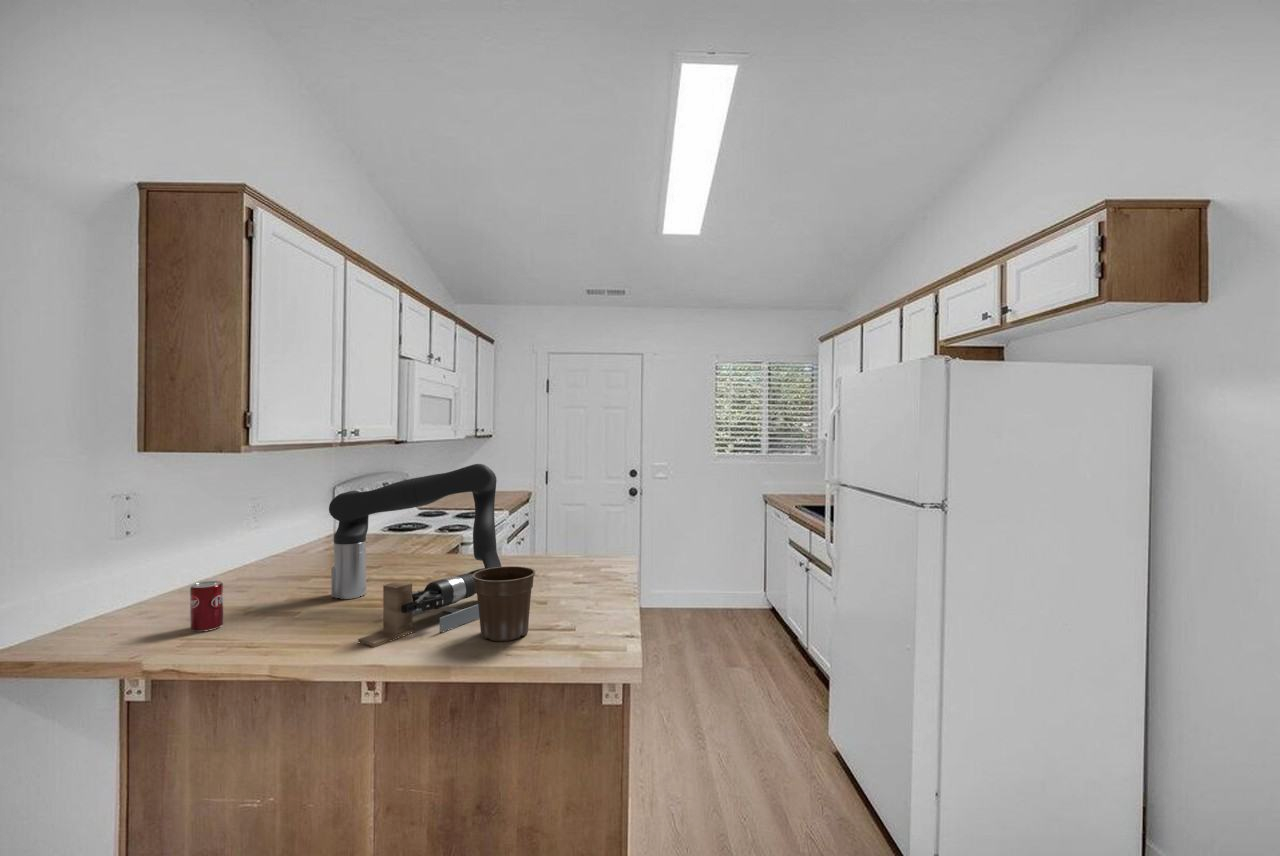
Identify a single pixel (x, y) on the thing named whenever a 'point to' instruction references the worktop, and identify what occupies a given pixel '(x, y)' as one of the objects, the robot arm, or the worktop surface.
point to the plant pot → (504, 601)
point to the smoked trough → (456, 617)
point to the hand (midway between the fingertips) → (395, 607)
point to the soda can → (206, 605)
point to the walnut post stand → (393, 614)
